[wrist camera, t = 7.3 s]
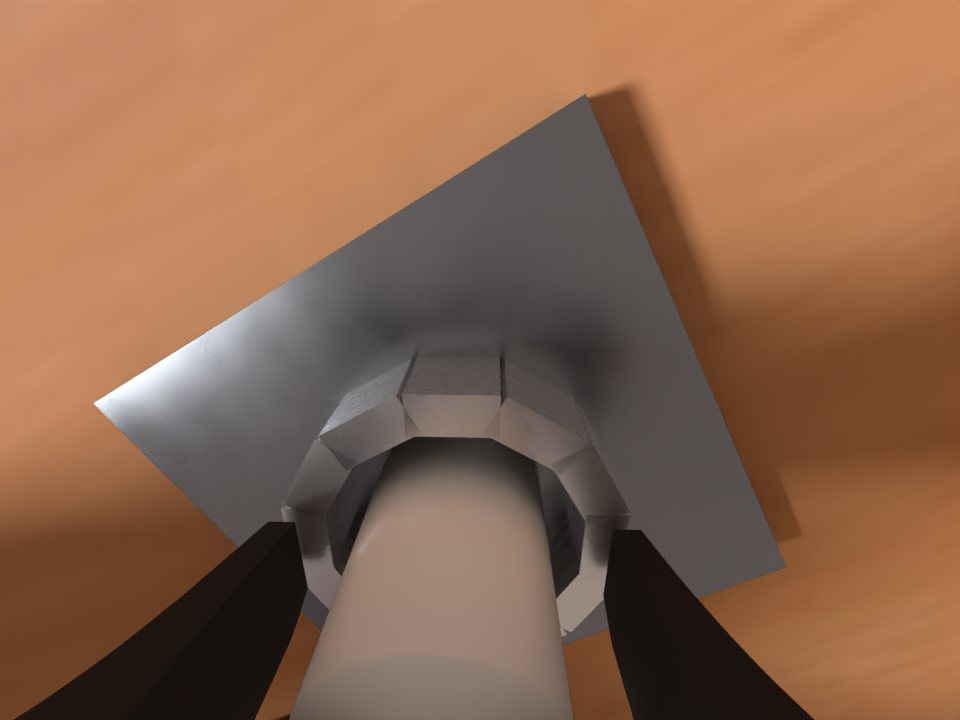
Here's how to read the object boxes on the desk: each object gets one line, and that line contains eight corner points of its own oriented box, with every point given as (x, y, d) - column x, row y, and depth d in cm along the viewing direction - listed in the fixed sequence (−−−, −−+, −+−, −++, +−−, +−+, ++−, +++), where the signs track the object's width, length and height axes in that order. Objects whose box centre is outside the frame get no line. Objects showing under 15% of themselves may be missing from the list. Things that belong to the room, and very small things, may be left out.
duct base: (767, 541, 14) (833, 631, 11) (399, 674, 17) (381, 771, 14) (577, 101, 10) (609, 73, 7) (122, 386, 13) (19, 446, 10)
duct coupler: (550, 432, 12) (606, 691, 6) (529, 561, 13) (556, 858, 8) (377, 417, 12) (263, 663, 6) (379, 548, 13) (292, 837, 8)
